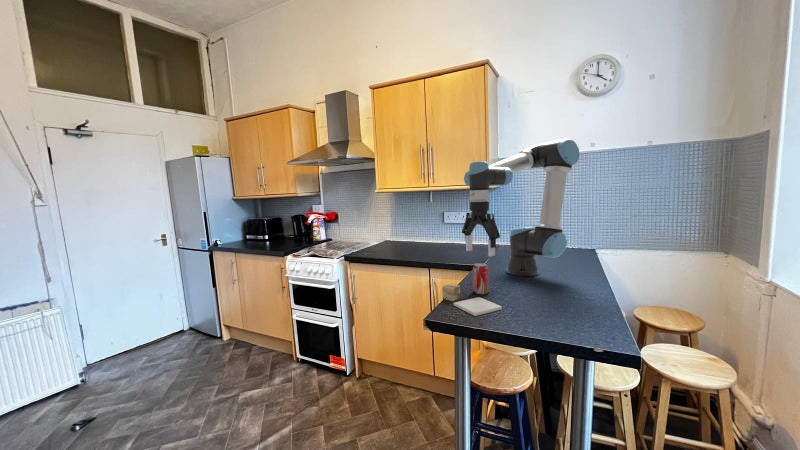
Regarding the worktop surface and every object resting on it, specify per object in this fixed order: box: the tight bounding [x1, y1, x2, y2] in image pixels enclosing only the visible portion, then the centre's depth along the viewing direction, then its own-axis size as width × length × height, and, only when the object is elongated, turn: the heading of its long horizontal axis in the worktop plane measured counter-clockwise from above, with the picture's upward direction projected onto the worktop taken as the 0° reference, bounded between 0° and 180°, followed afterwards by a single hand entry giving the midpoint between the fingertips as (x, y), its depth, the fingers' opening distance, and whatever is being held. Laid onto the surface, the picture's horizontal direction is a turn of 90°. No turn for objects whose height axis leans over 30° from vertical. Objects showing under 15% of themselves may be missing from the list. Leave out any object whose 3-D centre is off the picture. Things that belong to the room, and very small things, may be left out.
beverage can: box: [472, 262, 490, 295], centre depth 130 cm, size 6×6×12 cm
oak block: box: [441, 283, 461, 302], centre depth 125 cm, size 5×5×5 cm
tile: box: [453, 296, 503, 317], centre depth 114 cm, size 12×12×1 cm
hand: (479, 253), depth 129 cm, fingers open, 13 cm apart
